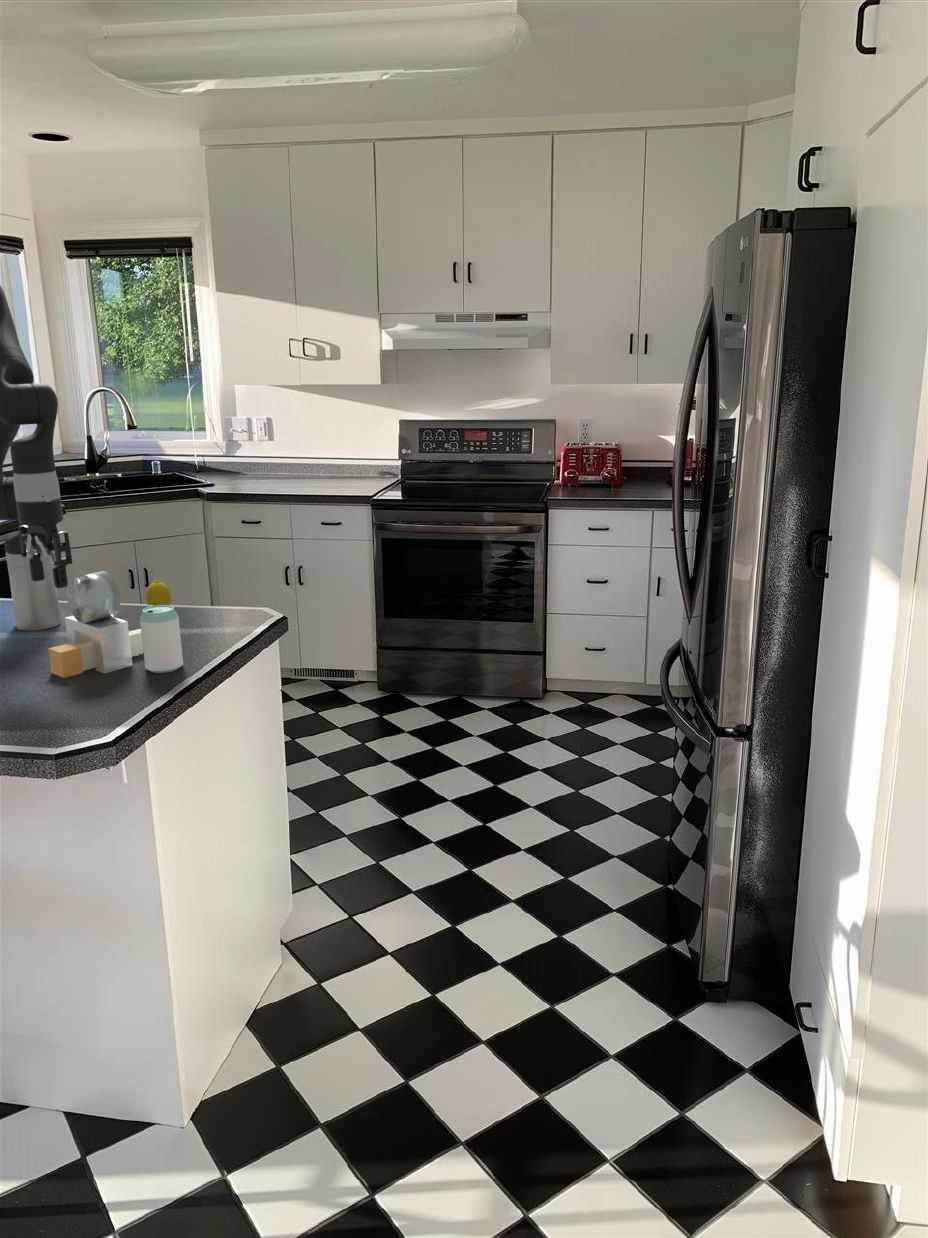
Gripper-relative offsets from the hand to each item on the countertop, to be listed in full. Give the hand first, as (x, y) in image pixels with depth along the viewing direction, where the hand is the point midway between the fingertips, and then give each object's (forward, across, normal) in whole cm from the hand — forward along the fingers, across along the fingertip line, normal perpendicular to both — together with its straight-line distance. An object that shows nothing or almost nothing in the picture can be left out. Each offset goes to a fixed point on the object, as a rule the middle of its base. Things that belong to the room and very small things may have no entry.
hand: (49, 583), depth 180 cm
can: (+18, +13, +14) cm, 26 cm away
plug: (+18, 0, +9) cm, 20 cm away
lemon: (+18, -22, +36) cm, 46 cm away
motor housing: (+18, 0, +8) cm, 20 cm away
